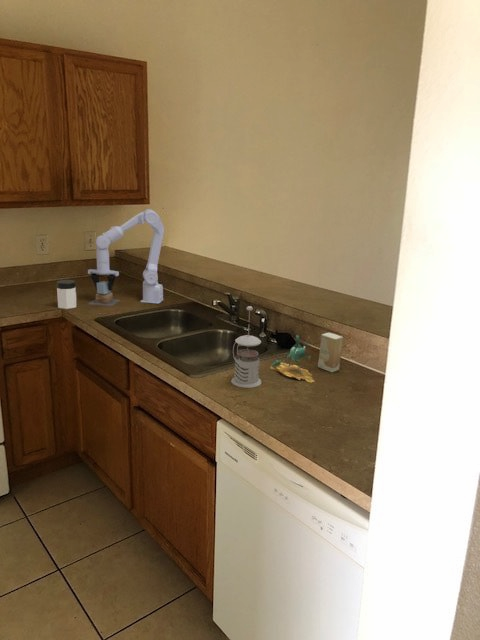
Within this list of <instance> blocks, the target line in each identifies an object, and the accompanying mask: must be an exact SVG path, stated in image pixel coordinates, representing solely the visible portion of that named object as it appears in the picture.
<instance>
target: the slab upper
mask: <svg viewBox="0 0 480 640" xmlns="http://www.w3.org/2000/svg"><path fill="white" fill-rule="evenodd" d="M113 295H114V294H113V292H111V293H107V294H100V293H96V294H95V299H104V300H108V299H110V298H112V297H113V298H114V296H113Z"/></svg>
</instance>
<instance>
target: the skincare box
mask: <svg viewBox="0 0 480 640" xmlns="http://www.w3.org/2000/svg"><path fill="white" fill-rule="evenodd" d="M343 340H344V336H341V335H338V334H336V333H333V332H324V333H321V338H320V346H319V353H318V355H319V356H318V363H317V367H318V368H319V369H322V370H325V371H327V372H330V373H334V372H337V371H339V369H340V363H341V355H342V348H343V347H342V346H343Z"/></svg>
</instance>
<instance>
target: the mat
mask: <svg viewBox="0 0 480 640" xmlns="http://www.w3.org/2000/svg"><path fill="white" fill-rule="evenodd" d="M120 301H121V299H115V298H113V301H112V302H110V303H109V304H103V303H96V298H95V299H94V300H92V301H90V302H88V303H87V305H95V306H104V307H107V306H108V307H109V306H110V307H113V306H114V305H115V304H117V303H118V302H120Z"/></svg>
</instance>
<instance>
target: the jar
mask: <svg viewBox="0 0 480 640" xmlns="http://www.w3.org/2000/svg"><path fill="white" fill-rule="evenodd" d="M56 292H57V295H56V296H57V297H56V298H57V308H58V309H65V310H68V309H74V308H77V288H76V280H72V279H61V280H57V281H56Z"/></svg>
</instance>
